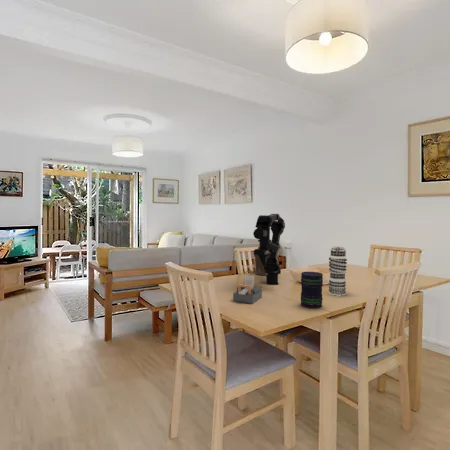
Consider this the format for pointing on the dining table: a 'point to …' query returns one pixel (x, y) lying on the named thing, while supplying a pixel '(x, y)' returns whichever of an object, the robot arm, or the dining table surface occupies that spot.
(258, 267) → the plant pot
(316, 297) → the storage jar
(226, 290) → the dining table surface
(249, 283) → the tapered wooden notched block
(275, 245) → the robot arm
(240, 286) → the lug
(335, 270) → the decorative candle
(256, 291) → the grey walled tray
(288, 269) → the dining table surface
